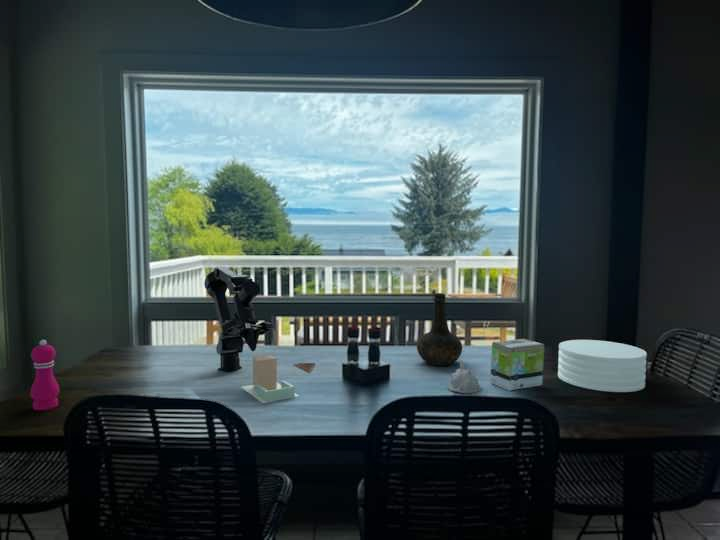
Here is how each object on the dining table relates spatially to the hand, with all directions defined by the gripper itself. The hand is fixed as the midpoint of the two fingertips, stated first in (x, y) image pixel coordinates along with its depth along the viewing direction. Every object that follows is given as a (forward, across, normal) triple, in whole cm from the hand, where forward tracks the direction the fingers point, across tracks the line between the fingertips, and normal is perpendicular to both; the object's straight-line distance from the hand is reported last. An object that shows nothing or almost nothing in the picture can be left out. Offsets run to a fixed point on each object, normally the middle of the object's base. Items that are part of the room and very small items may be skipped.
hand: (253, 350), depth 166 cm
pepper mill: (+3, +46, -42) cm, 62 cm away
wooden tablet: (+8, -22, -2) cm, 24 cm away
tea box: (+35, -54, +64) cm, 91 cm away
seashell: (+32, -40, +51) cm, 72 cm away
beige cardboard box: (+14, +1, +2) cm, 14 cm away
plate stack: (+42, -76, +86) cm, 123 cm away
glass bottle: (+17, -64, +35) cm, 75 cm away
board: (+17, +2, +4) cm, 18 cm away
